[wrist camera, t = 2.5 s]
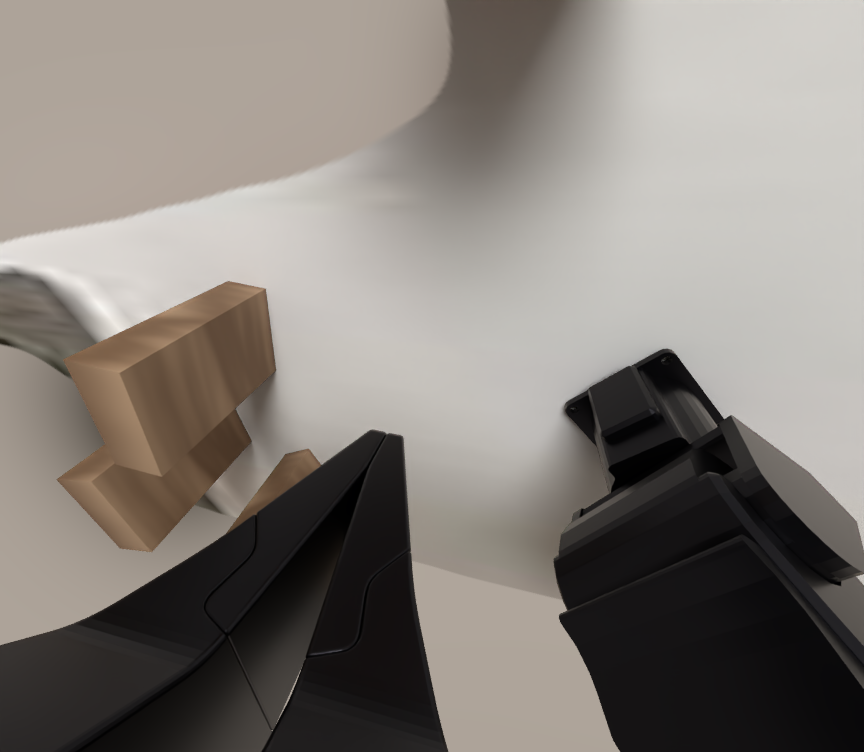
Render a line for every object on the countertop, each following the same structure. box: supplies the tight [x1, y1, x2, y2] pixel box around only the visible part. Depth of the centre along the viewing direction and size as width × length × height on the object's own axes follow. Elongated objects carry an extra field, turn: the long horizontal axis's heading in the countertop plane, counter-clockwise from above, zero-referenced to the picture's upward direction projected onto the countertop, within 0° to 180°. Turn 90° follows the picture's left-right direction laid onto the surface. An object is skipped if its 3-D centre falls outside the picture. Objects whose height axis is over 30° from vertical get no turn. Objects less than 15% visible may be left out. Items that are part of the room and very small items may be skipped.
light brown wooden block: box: [57, 409, 251, 552], centre depth 25 cm, size 3×6×10 cm, turn 8°
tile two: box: [227, 449, 321, 533], centre depth 27 cm, size 3×6×10 cm, turn 24°
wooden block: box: [63, 281, 276, 477], centre depth 20 cm, size 3×6×10 cm, turn 172°
